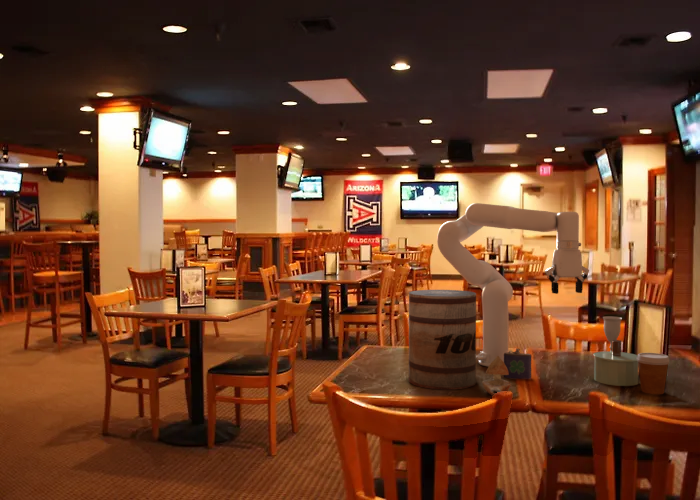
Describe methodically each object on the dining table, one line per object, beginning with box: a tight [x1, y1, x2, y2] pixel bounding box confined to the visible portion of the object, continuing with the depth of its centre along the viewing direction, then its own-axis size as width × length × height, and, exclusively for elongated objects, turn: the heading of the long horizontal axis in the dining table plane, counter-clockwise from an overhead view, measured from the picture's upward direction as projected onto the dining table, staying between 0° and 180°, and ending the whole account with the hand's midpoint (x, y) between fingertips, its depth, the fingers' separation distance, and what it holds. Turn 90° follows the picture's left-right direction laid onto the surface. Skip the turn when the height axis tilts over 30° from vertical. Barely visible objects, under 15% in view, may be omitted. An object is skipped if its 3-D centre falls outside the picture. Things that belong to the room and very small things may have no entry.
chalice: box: [602, 315, 623, 351], centre depth 241 cm, size 7×7×18 cm
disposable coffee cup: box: [636, 352, 671, 395], centre depth 200 cm, size 10×10×12 cm
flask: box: [503, 348, 532, 380], centre depth 218 cm, size 9×3×11 cm, turn 74°
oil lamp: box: [482, 356, 512, 397], centre depth 199 cm, size 9×21×10 cm, turn 165°
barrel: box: [408, 289, 477, 390], centre depth 215 cm, size 22×22×30 cm
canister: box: [593, 356, 640, 387], centre depth 214 cm, size 14×14×8 cm
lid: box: [592, 339, 638, 362], centre depth 214 cm, size 15×15×6 cm
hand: (567, 293), depth 231 cm, fingers open, 9 cm apart
